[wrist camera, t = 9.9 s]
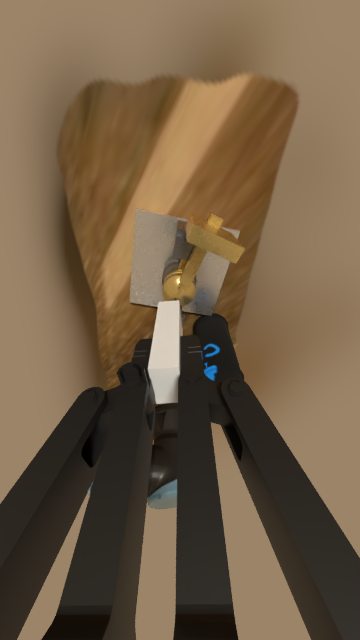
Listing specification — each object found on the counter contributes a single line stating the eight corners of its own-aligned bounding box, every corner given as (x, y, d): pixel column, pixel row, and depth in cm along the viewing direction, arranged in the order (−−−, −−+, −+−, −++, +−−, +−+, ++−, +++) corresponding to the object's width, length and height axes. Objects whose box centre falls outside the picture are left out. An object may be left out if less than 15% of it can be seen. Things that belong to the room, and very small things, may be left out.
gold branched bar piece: (150, 305, 39) (141, 344, 30) (193, 201, 30) (199, 213, 21) (180, 316, 41) (179, 356, 32) (230, 219, 31) (250, 238, 22)
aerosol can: (234, 321, 49) (261, 395, 33) (215, 345, 53) (230, 421, 37) (204, 307, 47) (217, 379, 31) (186, 333, 51) (189, 408, 35)
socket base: (210, 313, 48) (216, 340, 40) (130, 299, 46) (120, 325, 38) (238, 229, 38) (253, 244, 30) (137, 208, 36) (125, 217, 28)
